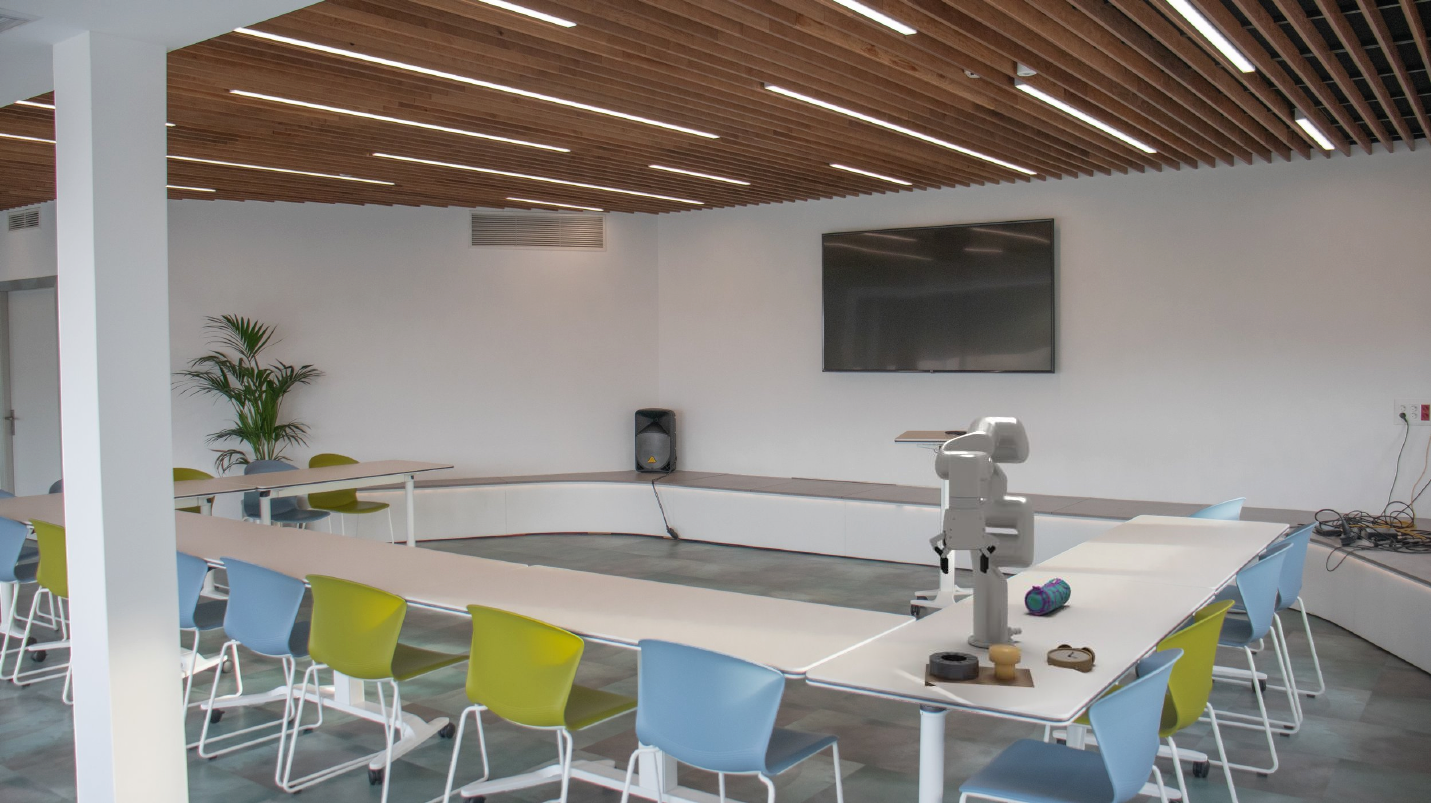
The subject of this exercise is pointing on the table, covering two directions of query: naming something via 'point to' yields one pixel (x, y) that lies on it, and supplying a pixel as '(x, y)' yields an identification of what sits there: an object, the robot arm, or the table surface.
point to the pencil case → (1047, 596)
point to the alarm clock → (1072, 657)
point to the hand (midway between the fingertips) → (964, 572)
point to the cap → (1004, 660)
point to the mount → (988, 678)
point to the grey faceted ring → (954, 666)
